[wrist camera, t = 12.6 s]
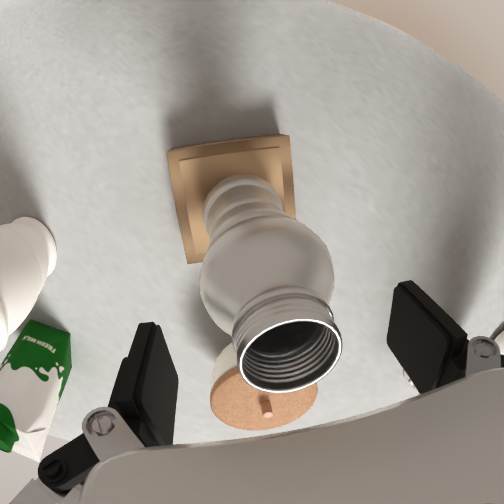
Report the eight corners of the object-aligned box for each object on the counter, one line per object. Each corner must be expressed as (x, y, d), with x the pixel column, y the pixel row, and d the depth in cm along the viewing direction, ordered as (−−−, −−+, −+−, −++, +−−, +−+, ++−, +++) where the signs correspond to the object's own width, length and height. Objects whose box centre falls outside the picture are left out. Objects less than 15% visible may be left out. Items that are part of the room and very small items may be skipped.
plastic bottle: (191, 188, 27) (151, 329, 9) (260, 157, 27) (362, 238, 8) (221, 248, 30) (239, 432, 11) (286, 220, 29) (389, 371, 11)
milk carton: (75, 330, 36) (24, 448, 18) (77, 372, 39) (41, 479, 21) (24, 312, 34) (-41, 413, 16) (30, 355, 37) (-17, 451, 19)
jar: (16, 287, 33) (-40, 355, 19) (-8, 216, 28) (-82, 267, 15) (75, 280, 33) (22, 361, 20) (52, 199, 29) (-27, 253, 16)
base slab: (288, 233, 34) (297, 248, 31) (190, 248, 34) (187, 264, 30) (280, 134, 30) (289, 135, 26) (172, 148, 29) (166, 152, 25)
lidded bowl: (302, 310, 39) (329, 369, 29) (297, 376, 44) (316, 433, 34) (203, 319, 38) (203, 384, 28) (214, 386, 43) (217, 446, 33)
